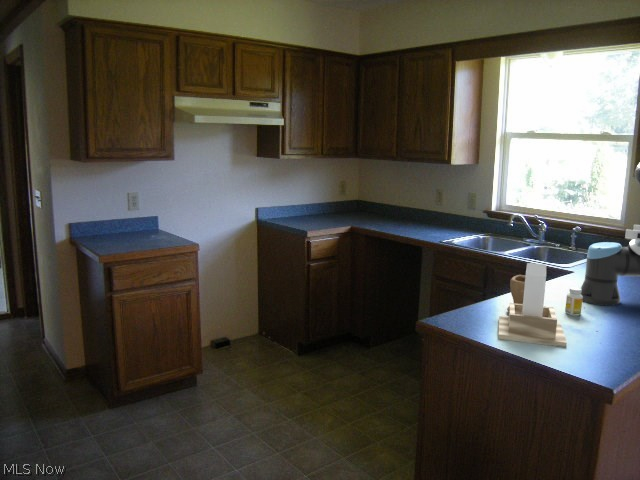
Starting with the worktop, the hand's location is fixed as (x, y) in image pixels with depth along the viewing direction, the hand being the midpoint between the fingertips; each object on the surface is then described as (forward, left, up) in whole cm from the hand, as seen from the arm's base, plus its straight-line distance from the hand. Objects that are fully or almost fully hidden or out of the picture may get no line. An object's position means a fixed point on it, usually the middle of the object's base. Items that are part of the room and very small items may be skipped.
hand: (629, 231), depth 172 cm
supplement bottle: (-21, -11, -35) cm, 42 cm away
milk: (+7, -27, -34) cm, 44 cm away
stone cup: (-12, -27, -35) cm, 46 cm away
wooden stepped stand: (+7, -27, -35) cm, 45 cm away
